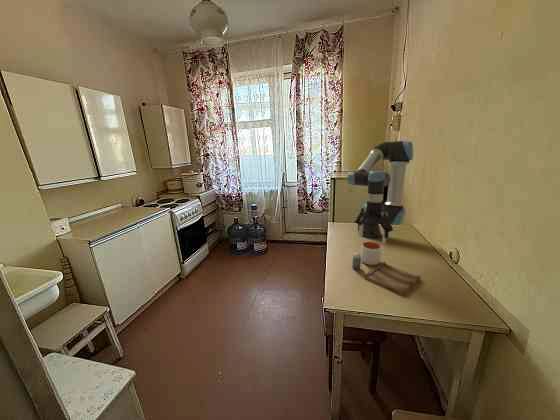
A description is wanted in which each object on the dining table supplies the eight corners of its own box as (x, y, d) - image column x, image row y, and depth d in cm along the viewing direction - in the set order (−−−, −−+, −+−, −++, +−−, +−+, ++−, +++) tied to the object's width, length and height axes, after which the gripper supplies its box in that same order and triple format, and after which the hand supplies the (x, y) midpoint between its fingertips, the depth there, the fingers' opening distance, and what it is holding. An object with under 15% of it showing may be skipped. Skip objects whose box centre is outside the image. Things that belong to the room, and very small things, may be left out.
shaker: (355, 265, 122) (356, 250, 120) (361, 268, 119) (362, 253, 117) (350, 268, 120) (351, 253, 117) (357, 271, 117) (358, 255, 114)
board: (383, 265, 121) (383, 262, 120) (420, 279, 107) (420, 276, 107) (364, 278, 110) (364, 274, 110) (402, 295, 97) (403, 291, 96)
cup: (357, 262, 125) (358, 246, 123) (365, 255, 132) (366, 240, 130) (376, 268, 119) (377, 251, 116) (382, 261, 126) (384, 244, 123)
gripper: (349, 198, 124) (348, 234, 129) (395, 206, 104) (391, 248, 110) (357, 196, 128) (355, 231, 134) (403, 203, 109) (398, 244, 114)
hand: (371, 239), depth 122 cm, fingers open, 13 cm apart
